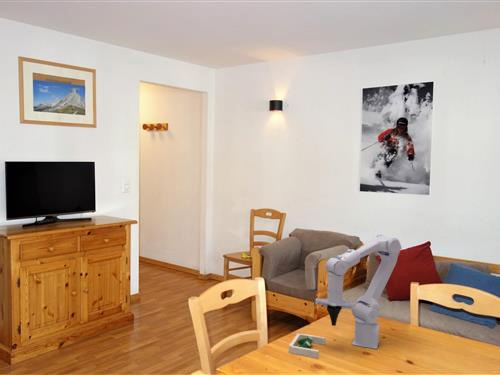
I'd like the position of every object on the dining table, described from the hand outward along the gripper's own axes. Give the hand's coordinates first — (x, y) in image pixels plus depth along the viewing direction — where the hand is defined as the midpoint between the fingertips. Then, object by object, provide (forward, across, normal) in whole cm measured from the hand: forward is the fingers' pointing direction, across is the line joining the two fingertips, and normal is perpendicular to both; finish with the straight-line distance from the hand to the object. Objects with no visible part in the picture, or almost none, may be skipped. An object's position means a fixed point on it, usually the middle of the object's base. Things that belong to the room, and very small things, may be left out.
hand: (333, 324), depth 173 cm
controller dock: (+9, -9, -4) cm, 13 cm away
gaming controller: (+10, -10, -4) cm, 15 cm away
